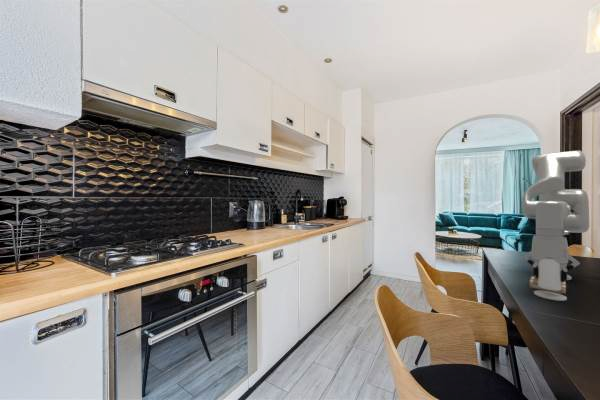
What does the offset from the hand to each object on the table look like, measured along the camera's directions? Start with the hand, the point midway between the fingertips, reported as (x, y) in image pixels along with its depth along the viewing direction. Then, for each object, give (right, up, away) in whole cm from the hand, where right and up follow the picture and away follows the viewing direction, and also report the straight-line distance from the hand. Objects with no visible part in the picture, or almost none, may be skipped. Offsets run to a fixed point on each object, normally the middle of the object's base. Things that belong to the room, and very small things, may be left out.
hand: (549, 278), depth 96 cm
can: (0, -4, 0) cm, 4 cm away
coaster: (0, -7, 0) cm, 7 cm away
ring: (+9, -7, +10) cm, 15 cm away
